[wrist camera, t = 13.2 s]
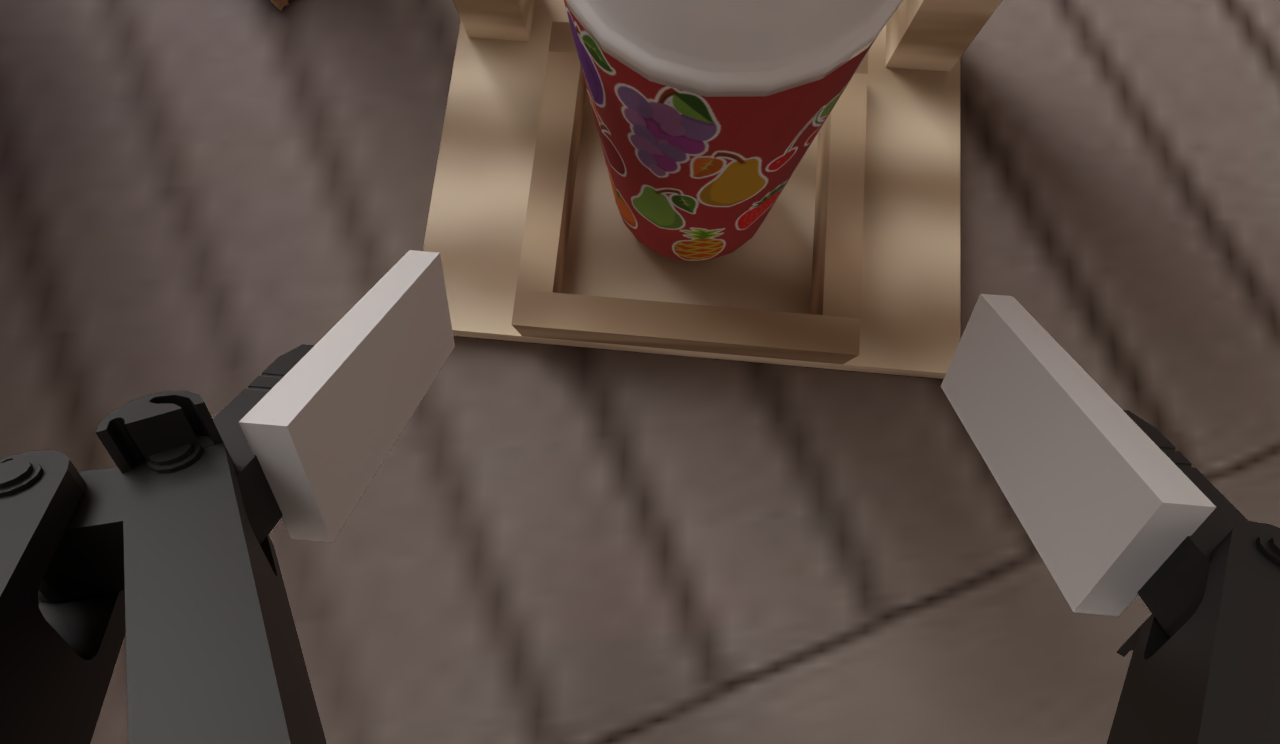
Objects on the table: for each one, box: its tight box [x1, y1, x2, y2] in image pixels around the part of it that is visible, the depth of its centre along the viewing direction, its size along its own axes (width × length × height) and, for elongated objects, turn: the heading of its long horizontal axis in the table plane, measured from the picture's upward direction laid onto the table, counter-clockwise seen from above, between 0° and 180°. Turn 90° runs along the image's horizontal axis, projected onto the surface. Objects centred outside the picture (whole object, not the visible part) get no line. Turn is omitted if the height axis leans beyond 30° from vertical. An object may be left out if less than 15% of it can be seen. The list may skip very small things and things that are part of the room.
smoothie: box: [564, 0, 903, 261], centre depth 17 cm, size 8×8×20 cm
